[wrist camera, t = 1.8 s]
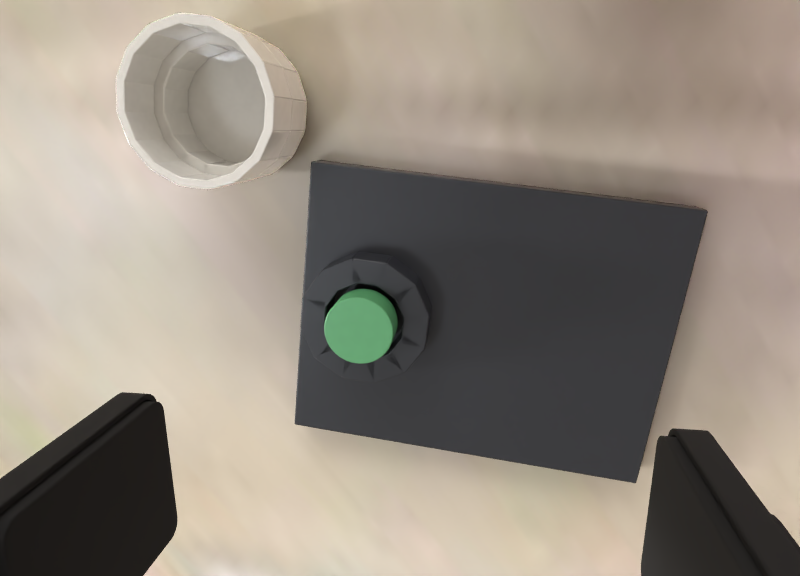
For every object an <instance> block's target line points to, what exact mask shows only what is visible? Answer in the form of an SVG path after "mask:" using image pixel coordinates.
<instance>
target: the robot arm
mask: <svg viewBox="0 0 800 576" xmlns="http://www.w3.org/2000/svg"><path fill="white" fill-rule="evenodd" d="M176 527H177V511H176V503H175V495H174V487H173V479H172V471H171V463H170V456H169V448H168V440H167V432H166V424H165V416H164V410H163V406H162V404H161V403H159V402H156V399H155V398H154V396H152V395H151V394H140V393H123V392H122V393H120V394H118V395H116V396H115V397H114V398H112V399H111V400H109V401H108V402H107V403H105V404H104V405H102V406H101V407H100V408H98V409H97V410H95V411H94V412H93V413H91V414H90V415H89V416H87V417H86V418H84V419H83V420H82V421H80V422H79V423H77V424H76V425H75V426H73V427H72V428H70V429H69V430H68V431H66V432H65V433H63V434H62V435H61V436H59V437H58V438H56V439H55V440H54V441H52V442H51V443H49V444H48V445H47V446H45V447H44V448H42V449H41V450H40V451H38V452H37V453H35V454H34V455H33V456H31V457H30V458H29V459H27V460H26V461H24V462H23V463H22V464H20V465H19V466H17V467H16V468H15V469H13V470H12V471H10V472H9V473H8V474H6V475H5V476H3V477H2V478H1V479H0V576H143V575H144V574H145V573H146V571H147V570H148V569H149V567H150V566H151V565H152V564H153V562H154V561H155V560H156V558H157V557H158V556H159V554H160V553H161V552H162V551H163V549H164V548H165V547H166V545H167V544H168V543H169V541H170V540H171V539H172V537H173V535H174V533H175V531H176ZM641 576H800V547H799V546H798V544H797V543H796V542H795V540H794V539H793V538H792V536H791V535H790V534H789V532H788V531H787V530H786V528H785V527H784V526H783V524H782V523H781V522H780V521H779V520H778V519H777V518H776V517H775V516H774V515H772V514H770V513H769V512H768V510H767V509H766V507H765V506H764V505H763V503H762V502H761V501H760V499H759V498H758V497H757V495H756V494H755V493H754V491H753V490H752V489H751V487H750V486H749V485H748V483H747V482H746V480H745V479H744V478H743V476H742V475H741V474H740V472H739V471H738V470H737V468H736V467H735V466H734V464H733V463H732V462H731V460H730V459H729V458H728V456H727V455H726V453H725V452H724V451H723V449H722V448H721V447H720V445H719V444H718V443H717V441H716V440H715V439H714V437H713V436H712V435H711V433H710V432H708V431H703V430H688V429H671V430H670V432H669V435H668V436H660V437H659V438H658V441H657V446H656V454H655V462H654V469H653V477H652V485H651V492H650V500H649V507H648V515H647V523H646V530H645V538H644V546H643V553H642V561H641Z"/></svg>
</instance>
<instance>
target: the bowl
mask: <svg viewBox="0 0 800 576" xmlns="http://www.w3.org/2000/svg"><path fill="white" fill-rule="evenodd" d="M306 101H307V99H306V96H305V92H304V89H303V86H302V83H301V79H300V76H299V73H298V71H297V70H296V69H295V67H294V66H293V65H292V63H291V62H290V61H289V60H288V58H287V57H286V56H285V55H284V53H283V52H282V51H281V49H279V48H278V47H277V46H275V45H273V44H271V43H270V42H268V41H266V40H264V39H263V38H261V37H259V36H257V35H256V34H253V33H251V32H249V31H246V30H244V29H241V28H239V27H236V26H235V25H232V24H230V23H227V22H225V21H223V20H220V19H218V18H215V17H213V16H210V15H201V14H191V13H180V12H179V13H175V14H172V15H170V16H167V17H165V18H162V19H159V20H157V21H154V22H151V23H149V24H148V25H147V26H146V27H145V28H144V29H143V30H142V31H141V32H140V33H139V34H138V35H137V36H136V37H135V39H134V40H133V41H132V42H131V43H130V44H129V45H128V46H127V48H126V50H125V53H124V56H123V59H122V61H121V64H120V67H119V70H118V73H117V76H116V108H117V115H118V117H119V120H120V123H121V125H122V128H123V130H124V133H125V136H126V138H127V141H128V143H129V144H130V146H131V148H132V149H133V150H134V151H135V152H136V154H137V155H138V156H139V157H140V158H141V159H142V161H143V162H144V163H145V164H146V165H147V167H148V168H149V169H150V170H151V171H153V172H155V173H156V174H158V175H160V176H162V177H163V178H165V179H167V180H169V181H170V182H172V183H174V184H176V185H177V186H181V187H188V188H196V189H203V190H212V189H216V188H220V187H225V186H229V185H234V184H238V183H243V182H247V181H251V180H255V179H258V178H261V177H264V176H268V175H271V174H273V173H275V172H276V171H277V170H278V169H280V168H281V167H282V166H283V165H284V164H285V163H286V162H287V161H289V160H290V159H291V158H292V156H293V155H294V154H295V152H296V150H297V148H298V146H299V144H300V141H301V139H302V137H303V135H304V133H305V130H306V114H307V102H306Z"/></svg>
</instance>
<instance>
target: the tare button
mask: <svg viewBox="0 0 800 576" xmlns="http://www.w3.org/2000/svg"><path fill="white" fill-rule="evenodd" d="M397 327H398V318H397V313H396V311H395V308H394V306H393V305H392V303H391V302H390V301H389V300H388V299H387V298H386V297H385V296H384V295H382V294H381V293H379V292H377V291H374V290H371V289H364V288H363V289H355V290H351V291H349V292H347V293H346V294H344V295H343V296H342V297H340V299H339V300H338V301H337V302H336V303H335V305H334V306H333V307H332V308H331V309H330V311H329V312H328V314H327V316H326V319H325V324H324V332H325V337H326V340H327V342H328V344H329V346H330V348H331V349H332V350H333V351H334V352H335V353H336V354H337V355H338V356H339V357H341V358H342V359H344V360H346V361H349V362H352V363H358V364H364V363H370V362H373V361H375V360H377V359H379V358H381V357H382V356H383V355H384V354H385V353H386V352H387V351H388V349H389V348H390V346H391V343H392V341H393V339H394V336H395V334H396V331H397Z"/></svg>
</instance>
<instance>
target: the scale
mask: <svg viewBox="0 0 800 576" xmlns="http://www.w3.org/2000/svg"><path fill="white" fill-rule="evenodd" d="M707 213H708V211H707V210H704V209H702V208H699V207H696V206H688V205H680V204H672V203H664V202H656V201H648V200H639V199H631V198H623V197H615V196H607V195H599V194H591V193H583V192H575V191H566V190H558V189H550V188H542V187H534V186H526V185H518V184H510V183H501V182H493V181H485V180H477V179H469V178H461V177H453V176H445V175H436V174H428V173H420V172H412V171H404V170H396V169H388V168H380V167H371V166H363V165H355V164H347V163H339V162H331V161H323V160H318V161H313V162H311V175H310V190H309V206H308V222H307V238H306V253H305V269H304V285H303V298H302V311H301V332H300V348H299V364H298V379H297V395H296V411H295V424H296V425H302V426H308V427H313V428H319V429H325V430H331V431H337V432H342V433H348V434H354V435H360V436H366V437H371V438H377V439H383V440H389V441H394V442H400V443H406V444H412V445H418V446H423V447H429V448H435V449H441V450H447V451H452V452H458V453H464V454H470V455H476V456H481V457H487V458H493V459H499V460H504V461H510V462H516V463H522V464H528V465H533V466H539V467H545V468H551V469H557V470H562V471H568V472H574V473H580V474H586V475H591V476H597V477H603V478H609V479H614V480H620V481H626V482H632V483H636V481H637V477H638V474H639V470H640V466H641V462H642V459H643V455H644V451H645V447H646V443H647V440H648V436H649V432H650V428H651V424H652V421H653V417H654V413H655V409H656V406H657V402H658V398H659V394H660V390H661V387H662V383H663V379H664V375H665V371H666V368H667V364H668V360H669V356H670V353H671V349H672V345H673V341H674V337H675V334H676V330H677V326H678V322H679V318H680V315H681V311H682V307H683V303H684V300H685V296H686V292H687V288H688V284H689V281H690V277H691V273H692V269H693V265H694V262H695V258H696V254H697V250H698V247H699V243H700V239H701V235H702V231H703V228H704V224H705V220H706V216H707ZM363 288H364V289H371V290H374V291H377V292H379V293H381V294H382V295H384V296H385V297H386V298H387V299H388V300H389V301H390V302H391V303H392V305H393V306H394V308H395V311H396V313H397V318H398V327H397V331H396V334H395V336H394V339H393V341H392V343H391V346H390V348H389V349H388V351H387V352H386V353H385V354H384V355H383V356H382V357H381V358H379V359H377V360H375V361H373V362H370V363H364V364H358V363H352V362H349V361H346V360H344V359H342V358H341V357H339V356H338V355H337V354H336V353H335V352H334V351H333V350H332V349H331V348H330V346H329V344H328V342H327V340H326V337H325V332H324V324H325V319H326V316H327V314H328V312H329V311H330V309H331V308H332V307H333V306H334V305H335V303H336V302H337V301H338V300H339V299H340V297H342V296H343V295H344V294H346V293H347V292H349V291H351V290H355V289H363Z"/></svg>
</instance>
